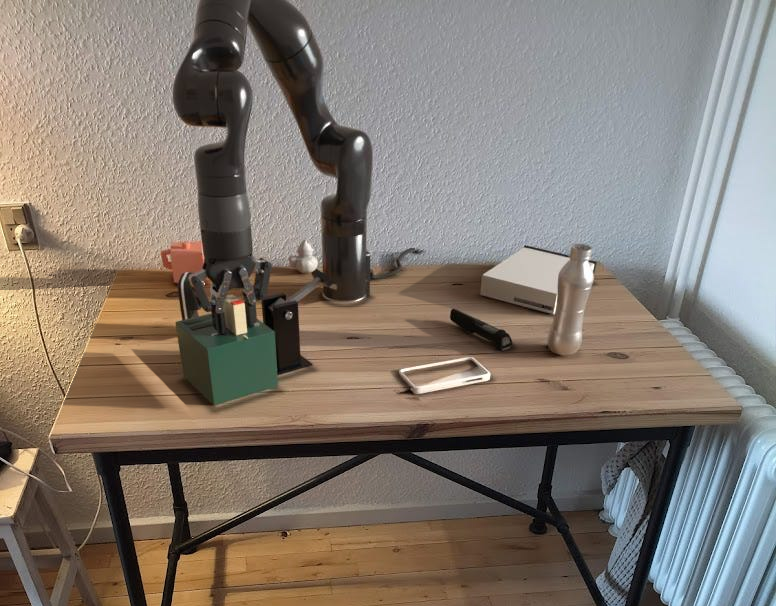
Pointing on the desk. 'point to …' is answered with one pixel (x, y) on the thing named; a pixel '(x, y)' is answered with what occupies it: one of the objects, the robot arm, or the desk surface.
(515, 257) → the disc drive
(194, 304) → the black computer mouse
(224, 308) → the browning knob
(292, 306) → the black lever stand
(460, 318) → the electric trimmer
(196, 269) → the pink cube teapot
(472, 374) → the phone case
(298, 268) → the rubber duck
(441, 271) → the desk surface
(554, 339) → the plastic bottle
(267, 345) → the toaster
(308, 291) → the lever
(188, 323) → the toaster slots
